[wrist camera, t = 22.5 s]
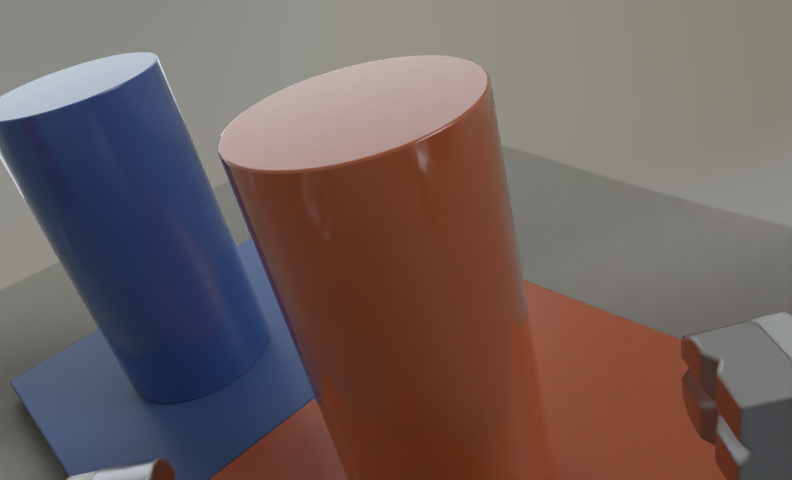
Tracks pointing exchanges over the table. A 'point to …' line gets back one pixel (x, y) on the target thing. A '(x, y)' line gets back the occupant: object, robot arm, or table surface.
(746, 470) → the robot arm
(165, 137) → the blue canister
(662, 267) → the table surface
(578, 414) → the board
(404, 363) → the terracotta canister
